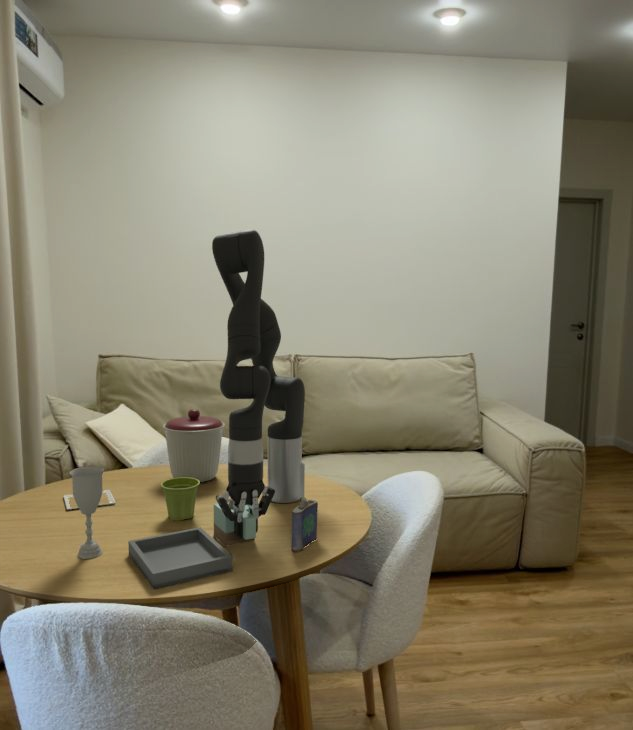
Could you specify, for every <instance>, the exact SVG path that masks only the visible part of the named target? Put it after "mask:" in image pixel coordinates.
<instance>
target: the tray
mask: <svg viewBox="0 0 633 730" xmlns="http://www.w3.org/2000/svg"><path fill="white" fill-rule="evenodd" d="M127 541H128V545H127V546H128V556H129V557H130V558H131V560H132V561H133V563H134V564H135V566H136V567H137V568H138V570H139V571H140V572H141V573H140V574H142V575H143V577H144V578H145V580H146V581H147V583H148V584H149V586H151V588H152V590H157V589H161V588H165V587H170V586H174V585H178V583H179V584H182V583H186V582H190V580H191V581H195V579H196V580H199V579H203V578H208V577H212V576H216V575H221V574H226V573H230V572H233V569H234V567H233V565H234V563H233V561H234V559H233V558H234V556H233V555H232V554H231V553H230V552H228V550H226V549H225V548H224V547H223V546H222V545H221V544H220V543H218V542H217V541H216V539H214V538H213V537H212V536H211V535H210V534H209V533H207V531H206V530H205V529H204V528H202V527H200V526H199V527H194V528H189V529H185V530H178V531H175V532H170V533H169V532H168V533H164V534H159V535H153V536H147V537H143V538H138V539H132V540H131V539H130V540H127Z"/></svg>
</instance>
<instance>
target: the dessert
mask: <svg viewBox="0 0 633 730" xmlns="http://www.w3.org/2000/svg"><path fill="white" fill-rule="evenodd" d="M103 493H106V494H105V496H106V495H107V496H106V498H107V497H108V498H107V500H108V503H99V504H98V507H103V506H110V505H114V504H116V500H115V498H114V496H113V494H112V491H111V489H106V490H105V489H104V490H103V492H102V495H104V494H103ZM70 497H73V493H72V494H64V495H63V499H64V504H65V508H66V510H69V511H72V509H74V510H80V509H79V507H78V506H77V507H72V506H71V507H70V504H71V503H70V504H69V501H70V499H71V498H70ZM68 498H69V499H68ZM73 498H74V497H73Z"/></svg>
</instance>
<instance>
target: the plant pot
mask: <svg viewBox="0 0 633 730" xmlns="http://www.w3.org/2000/svg"><path fill="white" fill-rule="evenodd" d="M200 484H201V483H200V481H199V480H198V479H195V478H189V477H179V478H169V479H166V480H163V481H162V482H161V483H160V487H161V488H162V493H164V499H165V502H166V510H167V515H168V518H169V519H170V520H172V521H179V522H180V521H183V520H185V519H187V520H190V519H191V518H193V517H194V516H195V515H194V514H195V506H196V500H197V498H196V497H197V492H198V490H199V486H200Z"/></svg>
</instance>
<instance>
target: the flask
mask: <svg viewBox="0 0 633 730" xmlns="http://www.w3.org/2000/svg"><path fill="white" fill-rule="evenodd" d="M301 498H302V499H301ZM300 500H301V501H300ZM298 501H300V503H299V505H298V506H296V507H295V508H294V509H292V510H291V545H290V546H291V547H290V548H291V551H292V550H293V551H294V552H296V551H299V552H302V551H303V550H304V549H305V548H304V547H305V546H307V545H308V544H309V543H311V542H312V541H314V540H316V539H317V540H318V537H317V535H318V533H317V532H318V528H317V527H318V511H319V510H318V508H319V507H318V505H319V503H318V501H317V500H313V499H308V498H306V497H305V496H304V498H303V497H300V499H299V500H298ZM317 540H316V541H317ZM314 542H315V541H314ZM312 543H313V542H312ZM312 543H311V544H312ZM309 545H310V544H309ZM303 548H304V549H303ZM302 549H303V550H302ZM301 550H302V551H301Z"/></svg>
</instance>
